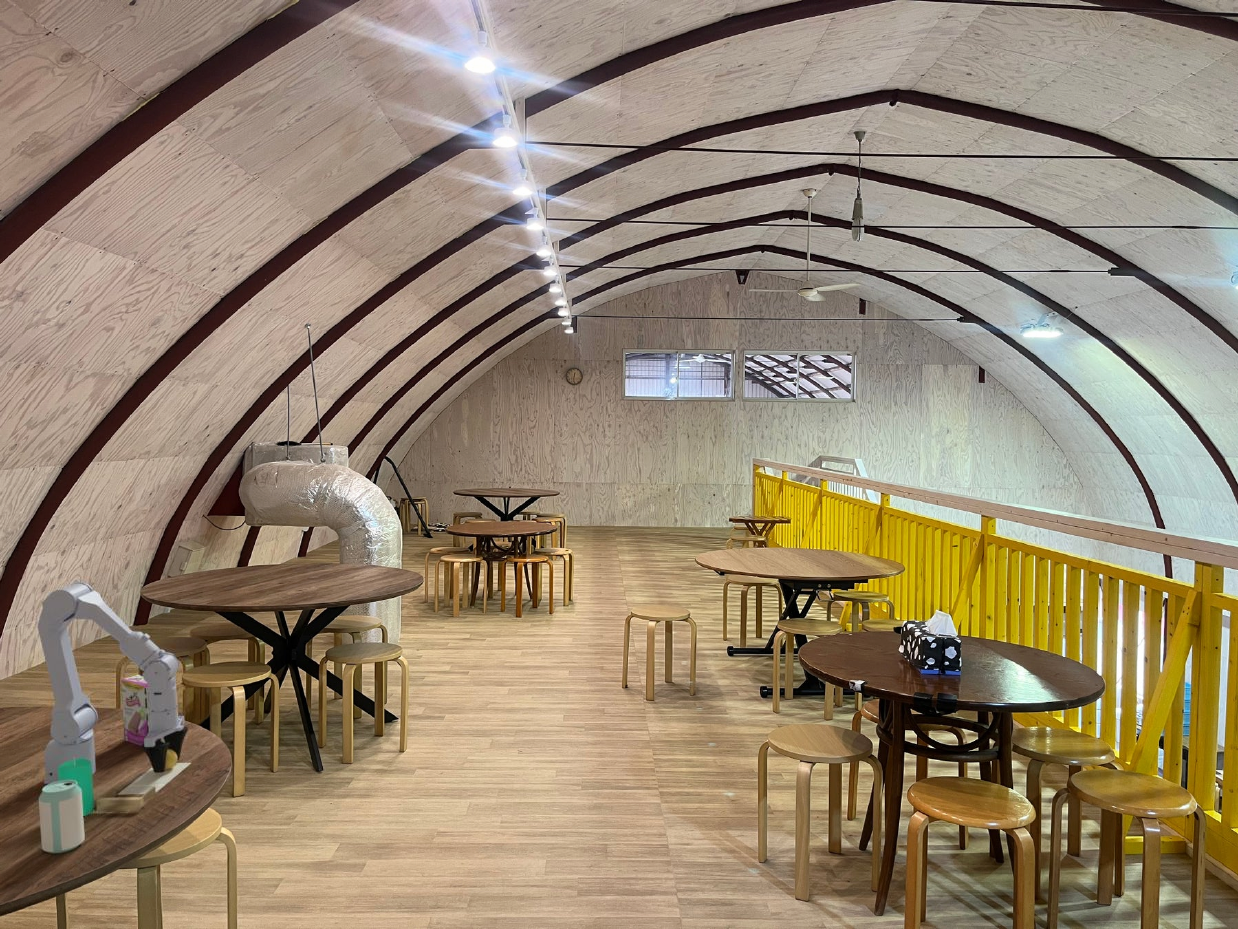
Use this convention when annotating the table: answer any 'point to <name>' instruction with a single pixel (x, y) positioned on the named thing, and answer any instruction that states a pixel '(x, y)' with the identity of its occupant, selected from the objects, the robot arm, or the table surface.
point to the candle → (80, 780)
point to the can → (61, 816)
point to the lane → (153, 780)
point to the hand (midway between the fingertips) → (166, 766)
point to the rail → (123, 801)
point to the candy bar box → (135, 709)
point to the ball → (170, 759)
